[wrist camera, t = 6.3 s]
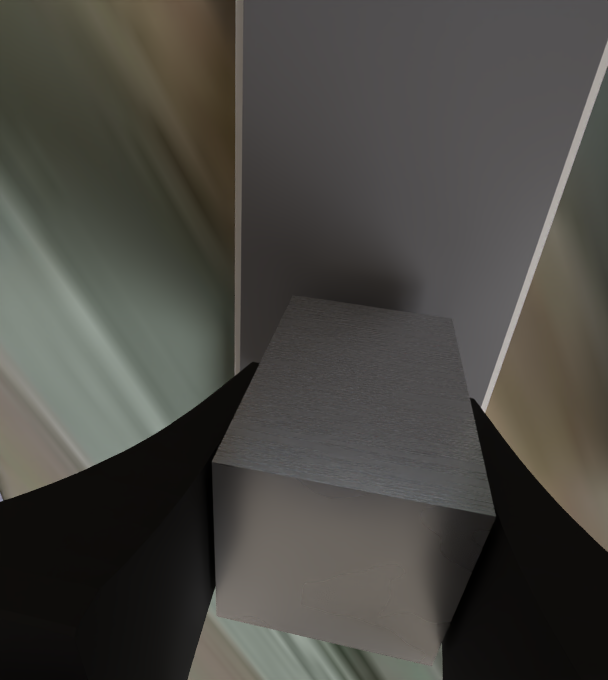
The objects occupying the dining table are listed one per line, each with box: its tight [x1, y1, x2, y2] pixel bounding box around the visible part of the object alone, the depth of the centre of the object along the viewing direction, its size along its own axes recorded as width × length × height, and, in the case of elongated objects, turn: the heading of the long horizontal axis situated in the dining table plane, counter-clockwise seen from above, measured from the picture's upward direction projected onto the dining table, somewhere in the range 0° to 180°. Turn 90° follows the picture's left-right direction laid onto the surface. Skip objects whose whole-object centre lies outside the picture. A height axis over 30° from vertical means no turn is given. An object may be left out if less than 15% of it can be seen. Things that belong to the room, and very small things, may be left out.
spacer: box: [212, 295, 496, 666], centre depth 10 cm, size 4×4×6 cm
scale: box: [235, 0, 608, 413], centre depth 12 cm, size 8×23×4 cm, turn 176°
